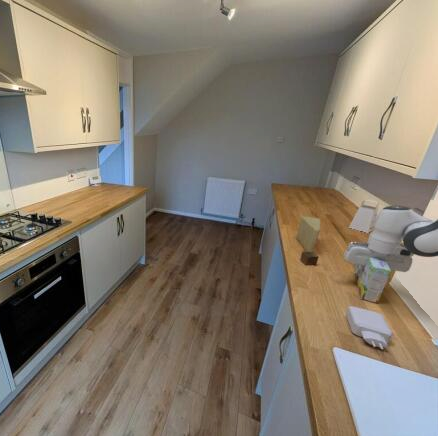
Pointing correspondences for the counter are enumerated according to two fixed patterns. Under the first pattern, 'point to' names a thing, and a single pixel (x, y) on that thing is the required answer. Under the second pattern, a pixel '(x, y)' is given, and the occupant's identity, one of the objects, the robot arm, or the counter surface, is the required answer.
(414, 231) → the robot arm
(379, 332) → the charger
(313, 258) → the walnut block
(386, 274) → the snack box
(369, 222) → the grater
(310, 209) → the counter surface
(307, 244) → the cheese
